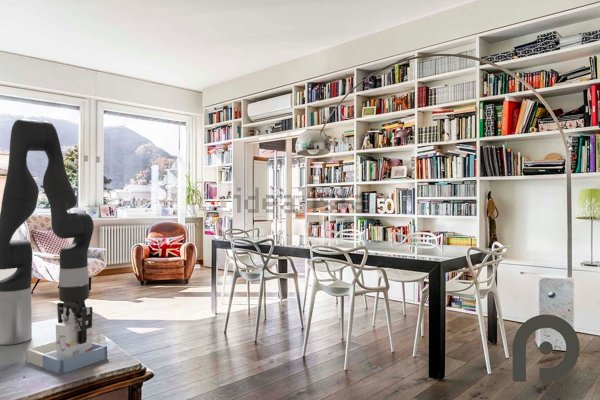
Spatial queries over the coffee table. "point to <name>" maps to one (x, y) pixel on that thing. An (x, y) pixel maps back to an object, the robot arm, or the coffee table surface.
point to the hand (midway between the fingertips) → (74, 340)
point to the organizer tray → (48, 359)
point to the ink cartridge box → (71, 339)
